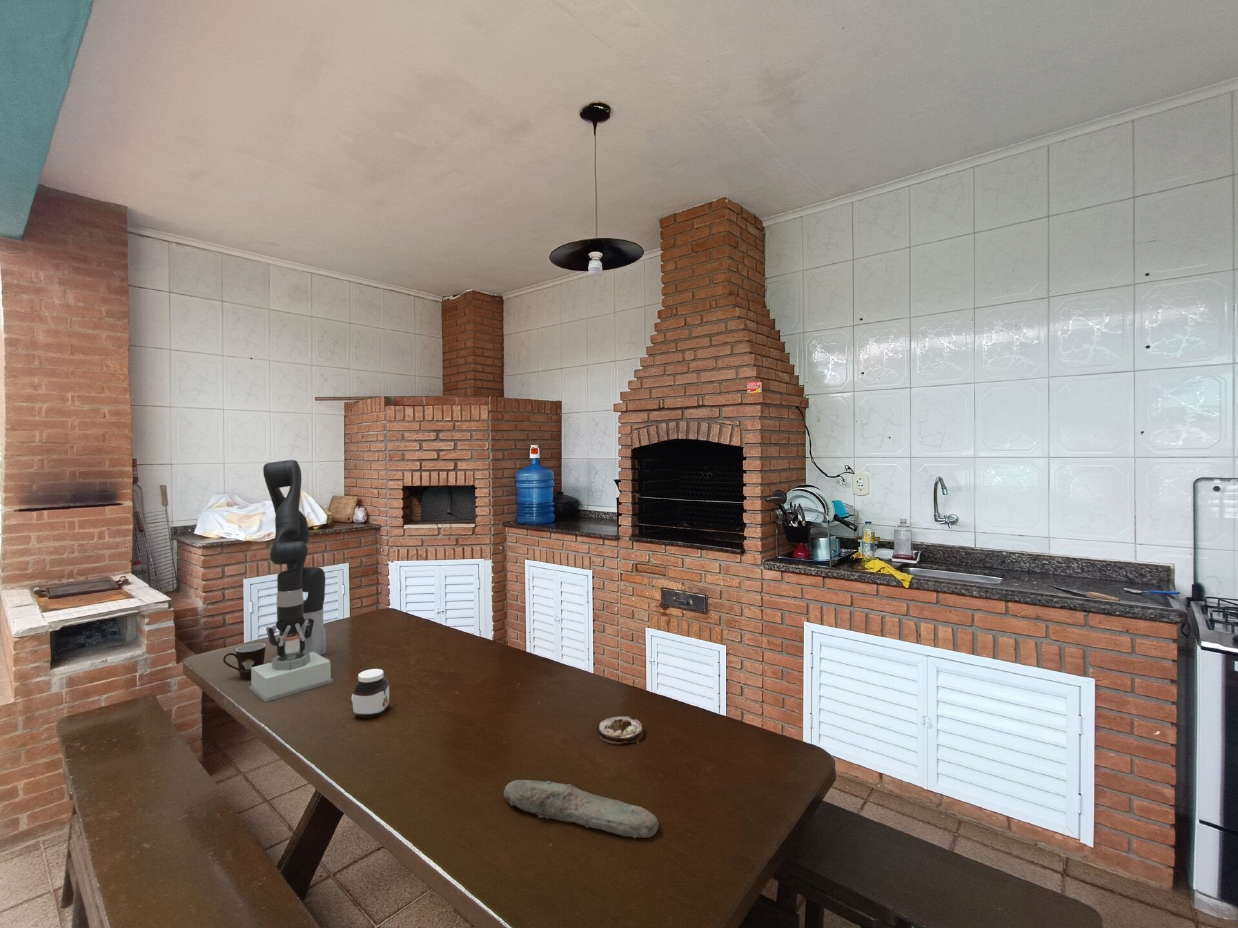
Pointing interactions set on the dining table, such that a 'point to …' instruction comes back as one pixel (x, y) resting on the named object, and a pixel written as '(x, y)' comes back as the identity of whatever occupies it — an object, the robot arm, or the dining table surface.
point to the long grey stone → (580, 808)
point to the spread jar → (370, 694)
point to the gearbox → (290, 676)
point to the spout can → (291, 647)
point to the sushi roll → (620, 730)
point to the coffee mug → (248, 659)
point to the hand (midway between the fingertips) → (291, 653)
